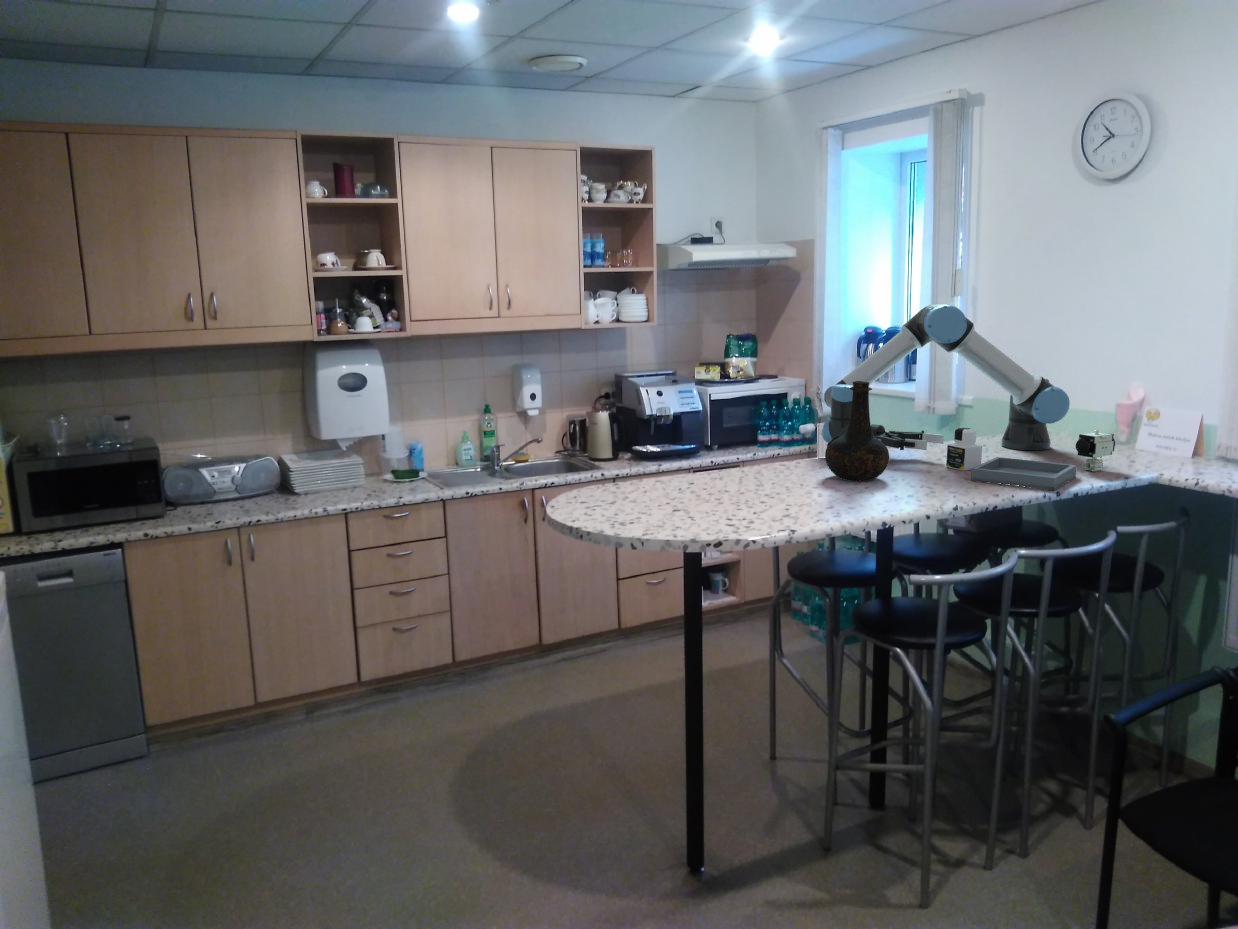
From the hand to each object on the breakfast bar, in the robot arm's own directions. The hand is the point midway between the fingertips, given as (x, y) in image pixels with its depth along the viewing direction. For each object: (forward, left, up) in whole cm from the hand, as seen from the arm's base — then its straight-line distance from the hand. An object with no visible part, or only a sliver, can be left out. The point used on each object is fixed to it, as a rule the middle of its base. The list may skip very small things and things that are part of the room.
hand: (935, 442), depth 279 cm
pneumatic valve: (-18, +41, -7) cm, 45 cm away
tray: (+6, +28, -7) cm, 29 cm away
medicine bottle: (0, +9, -7) cm, 11 cm away
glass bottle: (+33, -10, -7) cm, 35 cm away
